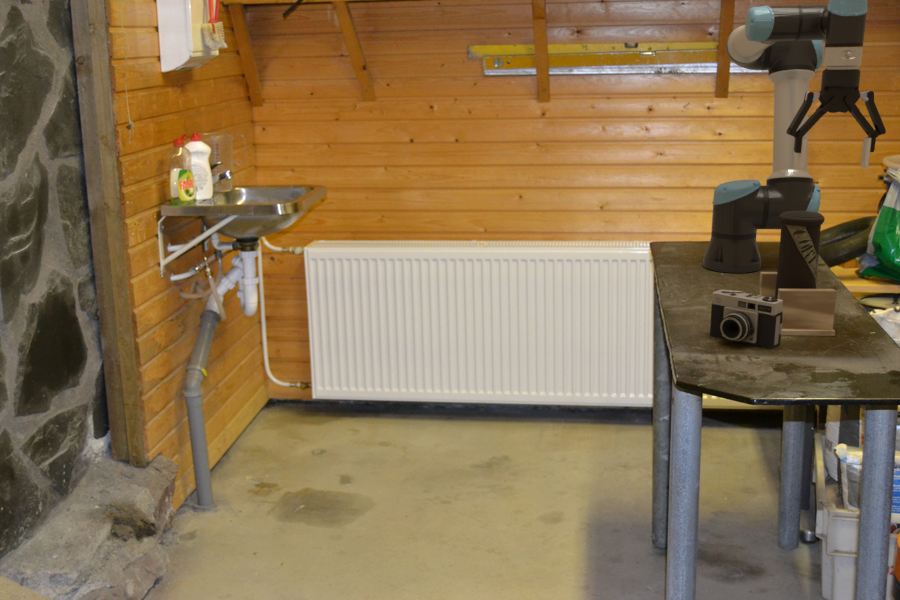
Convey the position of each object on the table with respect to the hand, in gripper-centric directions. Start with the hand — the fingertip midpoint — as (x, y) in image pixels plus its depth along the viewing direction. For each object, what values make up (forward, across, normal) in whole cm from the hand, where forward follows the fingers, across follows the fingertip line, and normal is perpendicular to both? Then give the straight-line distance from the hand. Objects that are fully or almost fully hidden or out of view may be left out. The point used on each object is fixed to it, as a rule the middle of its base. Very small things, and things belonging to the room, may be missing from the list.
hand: (832, 167), depth 196 cm
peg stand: (+31, -10, -14) cm, 36 cm away
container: (+28, -10, -14) cm, 32 cm away
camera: (+31, -24, -29) cm, 49 cm away
